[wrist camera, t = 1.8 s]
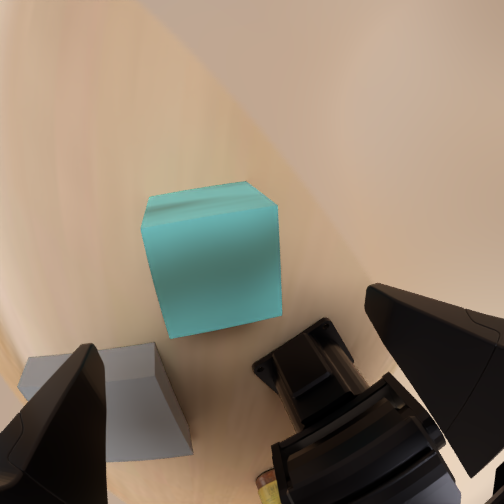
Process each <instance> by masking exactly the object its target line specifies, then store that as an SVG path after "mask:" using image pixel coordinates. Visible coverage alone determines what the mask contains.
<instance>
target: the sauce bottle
mask: <svg viewBox="0 0 504 504" xmlns="http://www.w3.org/2000/svg"><path fill="white" fill-rule="evenodd" d="M256 485H257V488H258V490H259V491H258V494H259V496H260V499H261V501H262V504H281V502H280V497H279V492H278V486H277V481H276V476H275V470H274V469H272V470H270V471H267V472H265V473H263V474H262V475H261V476H259V477H258V479H257V480H256Z"/></svg>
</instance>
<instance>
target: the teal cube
mask: <svg viewBox="0 0 504 504" xmlns="http://www.w3.org/2000/svg"><path fill="white" fill-rule="evenodd" d="M141 233H142V237H143V242H144V246H145V250H146V255H147V259H148V263H149V267H150V271H151V275H152V279H153V282H154V286H155V290H156V294H157V297H158V301H159V304H160V308H161V311H162V315H163V318H164V321H165V325H166V328H167V331H168V334H169V338H170V339H172V338H178V337H183V336H189V335H194V334H199V333H204V332H210V331H215V330H219V329H224V328H229V327H234V326H238V325H243V324H248V323H252V322H256V321H261V320H265V319H269V318H274V317H278V316H282V292H281V266H280V244H279V223H278V205H276V204H275V203H274V202H273V201H271V200H270V199H269V198H267V197H266V196H265V195H263V194H262V193H261V192H260V191H258V190H257V189H256V188H254V187H253V186H252V185H250V184H249V183H248V182H246V181H244V182H236V183H229V184H222V185H216V186H209V187H203V188H197V189H191V190H185V191H179V192H173V193H167V194H162V195H157V196H151V197H149V200H148V203H147V207H146V210H145V214H144V218H143V221H142V225H141Z"/></svg>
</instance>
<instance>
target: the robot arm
mask: <svg viewBox="0 0 504 504" xmlns="http://www.w3.org/2000/svg"><path fill="white" fill-rule="evenodd" d="M364 307H365V312H366V314H367V315H368V317H369V319H370V321H371V322H372V324H373V326H374V328H375V329H376V331H377V333H378V335H379V337H380V338H381V340H382V342H383V344H384V345H385V347H386V348H387V350H388V351H389V353H390V354H391V355H392V357H393V358H394V360H395V361H396V363H397V364H398V365H399V367H400V368H401V370H402V371H403V373H404V374H405V376H406V377H407V379H408V380H409V381H410V383H411V384H412V386H413V387H414V389H415V390H416V392H417V393H418V395H419V396H420V398H421V400H422V401H423V402H424V404H425V406H426V407H427V409H428V410H429V412H430V413H431V415H432V416H433V418H434V420H435V421H436V423H437V424H438V426H439V427H440V429H441V431H442V432H443V433H444V436H445V437H446V439H447V440H448V442H449V444H450V445H451V447H452V449H453V450H454V452H455V453H456V455H457V457H458V458H459V460H460V462H461V463H462V465H463V467H464V468H465V470H466V472H467V474H468V475H469V477H470V478H472V477H474V476H475V475H476V474H477V473H478V472H479V471H480V470H482V469H483V468H484V467H485V466H486V465H487V464H488V463H489V462H491V461H492V460H493V459H494V458H495V457H496V456H497V455H498V454H499V453H500V452H501V451H502V450H503V449H504V319H503V318H498V317H495V316H490V315H486V314H482V313H479V312H476V311H472V310H469V309H464V308H462V307H458V306H455V305H452V304H448V303H445V302H442V301H438V300H435V299H432V298H428V297H425V296H422V295H418V294H415V293H411V292H408V291H404V290H401V289H397V288H394V287H390V286H388V285H384V284H381V283H375V284H372V285H369V286H368V287H367V290H366V297H365V305H364ZM325 324H326V325H325ZM324 325H325V326H324ZM353 363H354V360H353V358H352V356H351V354H350V353H349V351H348V349H347V348H346V346H345V344H344V342H343V341H342V339H341V337H340V335H339V334H338V332H337V330H336V329H335V327H334V325H333V323H332V322H331V321H330V319H329V318H322V319H321V320H319V321H318V322H316V323H315V324H314V325H312V326H311V327H309V328H308V329H306V330H305V331H303V332H302V333H300V334H299V335H297V336H296V337H294V338H293V339H291V340H290V341H288V342H287V343H285V344H284V345H282V346H281V347H279V348H278V349H276V350H275V351H273V352H271V353H270V354H268V355H267V356H265V357H264V358H262V359H260V360H259V361H257V362H256V363H254V364H253V366H252V369H253V371H254V373H255V374H256V375H257V376H258V377H259V378H260V379H261V380H262V381H263V382H265V383H266V384H267V385H268V386H269V387H270V388H271V389H272V390H274V391H275V392H276V393H277V394H278V395H279V396H280V398H281V400H282V402H283V404H284V407H285V409H286V411H287V413H288V415H289V418H290V420H291V422H292V424H293V426H294V429H295V431H296V433H297V434H295V435H293V436H291V437H289V438H287V439H286V440H284V441H282V442H277V443H275V444H273V445H271V449H272V455H273V456H272V459H273V465H274V470H275V476H276V481H277V486H278V492H279V497H280V502H281V504H460V502H461V493H460V491H459V489H458V488H457V486H456V484H455V478H454V477H453V475H452V473H451V471H450V470H449V468H448V466H447V464H446V463H445V461H444V459H443V458H442V456H441V454H440V453H439V450H440V449H441V448H442V447H444V446H445V445H446V441H445V438H444V436H443V434H442V432H441V431H440V429H439V427H438V426H437V424H436V423H435V421H434V420H433V419H432V417H431V416H430V415H429V413H428V412H427V411H426V410H425V409H424V408H423V407H422V405H421V404H420V403H419V402H418V401H417V400H416V399H415V398H414V397H413V396H412V395H411V394H410V393H409V392H408V391H407V390H406V389H405V388H404V387H403V386H402V385H401V384H400V383H399V382H398V381H397V380H396V379H395V378H394V376H393V375H392V374H391V373H390V372H387V373H386V374H385V375H383V376H382V378H381V379H380V380H379V381H377V382H376V383H375V384H373V385H372V386H371V387H370V386H369V385H368V384H367V382H366V381H365V380H364V378H363V377H362V376H361V374H360V373H359V372H358V370H357V369H356V367H355V366H354V365H353ZM260 367H261V368H260ZM106 420H107V404H106V386H105V366H104V363H103V361H102V359H101V357H100V355H99V353H98V351H97V348H96V347H95V345H94V344H93V343H88V344H82V345H80V346H79V347H78V348H77V349H76V350H75V351H74V352H73V354H72V355H71V356H70V357H69V358H68V359H67V360H66V361H65V362H64V363H63V364H62V365H61V366H60V367H59V368H58V369H57V371H56V372H55V373H54V374H53V375H52V376H51V377H50V378H49V379H48V380H47V381H46V382H45V384H44V385H43V386H42V387H41V388H40V389H39V390H38V391H37V392H36V393H35V395H34V396H33V397H32V398H31V399H30V400H29V401H28V402H27V404H26V405H25V406H24V407H23V408H22V409H21V411H20V413H18V414H17V415H16V416H15V417H14V419H13V420H12V421H11V422H10V423H9V424H8V425H7V427H6V428H5V429H4V430H3V431H2V432H1V433H0V504H108V499H107V481H106ZM485 504H504V462H503V463H502V464H501V465H500V466H499V467H498V468H497V469H496V474H495V482H494V489H493V496H492V497H491V498H490V499H489V500H488V501H487V502H486V503H485Z"/></svg>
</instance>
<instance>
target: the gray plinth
mask: <svg viewBox="0 0 504 504" xmlns="http://www.w3.org/2000/svg"><path fill="white" fill-rule="evenodd" d="M98 353H99V355H100V357H101V359H102V361H103V363H104V366H105V386H106V404H107V420H106V462H125V461H142V460H154V459H164V458H172V457H180V456H187V455H194V454H193V449H192V443H191V437H190V431H189V426H188V423H187V421H186V419H185V417H184V415H183V412H182V410H181V408H180V406H179V403H178V401H177V399H176V396H175V394H174V392H173V389H172V387H171V384H170V382H169V379H168V377H167V374H166V372H165V369H164V367H163V364H162V361H161V359H160V356H159V353H158V351H157V348H156V345H155V342H153V343H147V344H140V345H134V346H127V347H120V348H113V349H106V350H98ZM71 355H72V354H63V355H53V356H42V357H30V358H28V360H27V363H26V365H25V368H24V370H23V373H22V375H21V378H20V381H19V383H18V386H17V387H18V389H19V390H20V392H21V393H22V394H23V396H24V397H25V398H26V400H27V401H29V400H30V399H31V398H32V397H33V396H34V395H35V393H36V392H37V391H38V390H39V389H40V388H41V387H42V386H43V385H44V384H45V382H46V381H47V380H48V379H49V378H50V377H51V376H52V375H53V374H54V373H55V372H56V371H57V369H58V368H59V367H60V366H61V365H62V364H63V363H64V362H65V361H66V360H67V359H68V358H69V357H70V356H71Z"/></svg>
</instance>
